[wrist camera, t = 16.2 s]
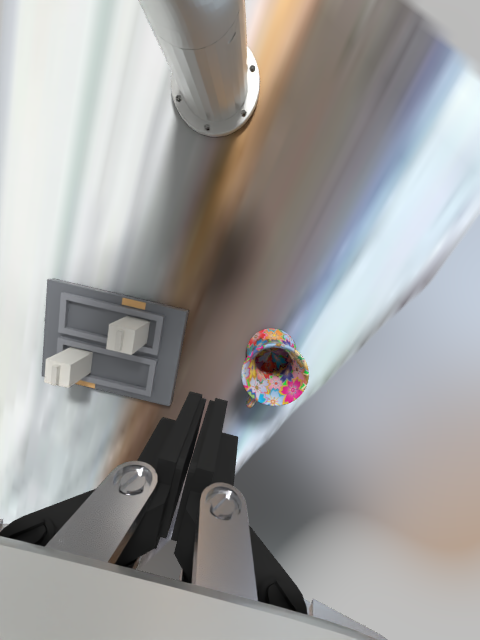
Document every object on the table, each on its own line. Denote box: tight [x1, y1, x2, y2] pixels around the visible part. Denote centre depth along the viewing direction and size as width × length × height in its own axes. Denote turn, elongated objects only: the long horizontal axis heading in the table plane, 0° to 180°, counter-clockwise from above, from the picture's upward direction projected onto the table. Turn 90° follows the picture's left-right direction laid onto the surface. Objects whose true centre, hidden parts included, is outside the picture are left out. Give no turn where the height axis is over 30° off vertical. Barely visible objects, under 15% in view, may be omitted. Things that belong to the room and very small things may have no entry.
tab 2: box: [106, 316, 150, 355], centre depth 44 cm, size 4×4×7 cm
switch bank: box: [42, 279, 189, 406], centre depth 49 cm, size 18×24×2 cm
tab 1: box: [44, 347, 93, 388], centre depth 46 cm, size 4×4×7 cm
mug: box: [241, 328, 309, 408], centre depth 44 cm, size 12×9×11 cm
